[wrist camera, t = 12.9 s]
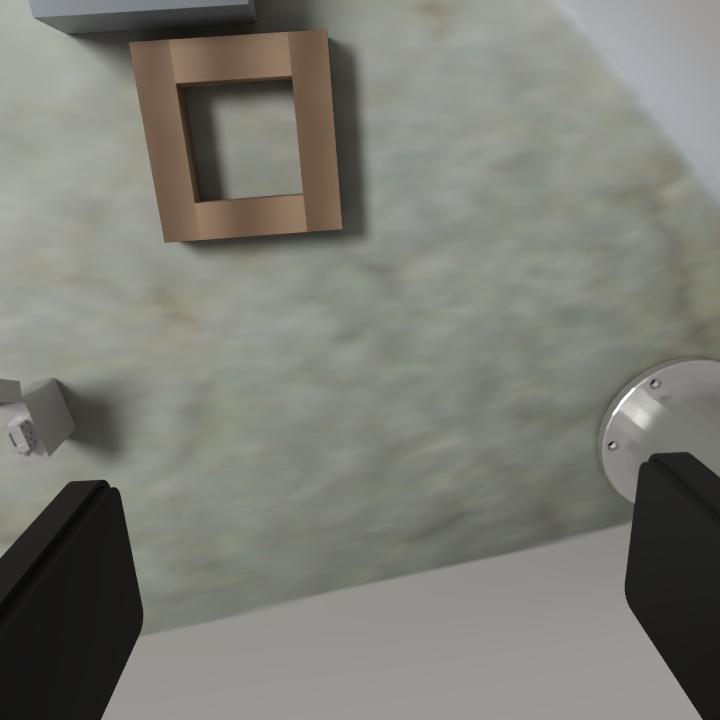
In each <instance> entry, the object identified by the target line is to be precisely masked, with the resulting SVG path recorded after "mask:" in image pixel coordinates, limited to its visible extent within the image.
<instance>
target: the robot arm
mask: <svg viewBox="0 0 720 720" xmlns="http://www.w3.org/2000/svg"><path fill="white" fill-rule="evenodd" d="M597 448H598V459H599V462H600V465H601V468H602V471H603V473H604V475H605V476H606V478H607V480H608V481H609V483H610V484H611V485H612V486H613V487H614V488H615V489H616V490H617V492H618V493H620V494H621V495H622V496H623V497H624V498H626V499H627V500H628V501H630V502H632V503H634V504H635V505H634V513H633V522H632V530H631V538H630V546H629V554H628V563H627V571H626V579H625V595H626V599H627V602H628V605H629V607H630V609H631V610H632V612H633V613H634V615H635V616H636V618H637V619H638V621H639V623H640V624H641V626H642V627H643V629H644V630H645V632H646V633H647V635H648V636H649V638H650V639H651V641H652V642H653V644H654V646H655V647H656V649H657V650H658V652H659V653H660V655H661V656H662V658H663V659H664V661H665V662H666V664H667V665H668V667H669V669H670V670H671V672H672V673H673V674H674V676H675V678H676V679H677V681H678V682H679V684H680V685H681V687H682V688H683V690H684V692H685V693H686V694H687V696H688V698H689V699H690V701H691V702H692V704H693V705H694V707H695V708H696V710H697V711H698V713H699V714H700V716H701V718H702V719H703V720H720V361H719V360H716V359H713V358H706V357H685V358H678V359H674V360H670V361H667V362H663V363H661V364H659V365H657V366H654V367H652V368H650V369H648V370H646V371H645V372H643V373H642V374H640V375H639V376H637V377H636V378H634V379H633V380H632V381H631V382H630V383H629V384H628V385H627V386H625V387H624V388H623V389H622V390H621V391H620V393H619V394H618V395H617V397H616V398H615V399H614V400H613V402H612V403H611V405H610V406H609V408H608V410H607V412H606V414H605V416H604V418H603V421H602V424H601V427H600V430H599V436H598V443H597ZM142 624H143V607H142V602H141V597H140V592H139V587H138V582H137V577H136V572H135V566H134V561H133V556H132V551H131V546H130V541H129V536H128V531H127V526H126V521H125V516H124V511H123V505H122V500H121V496H120V492H119V490H118V489H117V488H116V487H112V488H110V485H109V484H108V482H107V481H105V480H89V481H72V482H70V483H68V484H67V485H66V486H65V487H64V488H63V489H62V491H61V492H60V493H59V494H58V495H57V496H56V497H55V498H54V499H53V501H52V502H51V503H50V504H49V505H48V506H47V507H46V508H45V509H44V510H43V512H42V513H41V514H40V515H39V516H38V517H37V518H36V519H35V520H34V522H33V523H32V524H31V525H30V526H29V527H28V528H27V529H26V530H25V531H24V533H23V534H22V535H21V536H20V537H19V538H18V539H17V540H16V541H15V543H14V544H13V545H12V546H11V547H10V548H9V549H8V550H7V551H6V552H5V554H4V555H3V556H2V557H1V558H0V720H101V718H102V716H103V714H104V712H105V709H106V707H107V705H108V703H109V701H110V698H111V696H112V694H113V692H114V689H115V687H116V685H117V683H118V680H119V678H120V676H121V674H122V671H123V670H124V667H125V665H126V663H127V661H128V659H129V656H130V654H131V652H132V650H133V647H134V645H135V643H136V641H137V639H138V636H139V634H140V632H141V628H142Z"/></svg>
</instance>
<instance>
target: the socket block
mask: <svg viewBox="0 0 720 720" xmlns="http://www.w3.org/2000/svg"><path fill="white" fill-rule="evenodd" d="M29 1H30V5H31V10H32V14H33V18H35V19H37V20H39V21H41V22H43V23H45V24H47V25H49V26H51V27H53V28H55V29H57V30H59V31H61V32H63V33H65V34H78V33H93V32H109V31H124V30H140V29H155V28H171V27H186V26H202V25H217V24H232V23H248V22H257V17H256V9H255V0H29Z"/></svg>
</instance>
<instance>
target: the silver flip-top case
mask: <svg viewBox="0 0 720 720" xmlns="http://www.w3.org/2000/svg"><path fill="white" fill-rule="evenodd" d="M0 414H1V416H2V418H3V420H4V423H5V425H6V427H4V428H3V429H2V430H3V433H4V435H5V437H6V439H7V441H8V443H9V445H10V447H11V449H12V452H13V453H19V454H20V457H21V459H22V461H23V462H24V463H26V464H27V463H32V462H36V461H41V460H45V459H48V458H49V457H50V456H51V455H52V454H53V452H54V451H55V450H56V449H57V448H58V447H59V446H60V445H61V444H62V443H63V442H64V441H65V440H66V439H67V438H68V436H69V435H70V434H71V433H72V432H73V431H74V430H75V428H76V426H75V423H74V421H73V419H72V416H71V414H70V412H69V409H68V407H67V405H66V402H65V400H64V398H63V395H62V393H61V390H60V388H59V386H58V383H57V381H56V379H54V378H49V379H44V380H40V381H35V382H33V383H31V384H30V385H29V386H27V387H26V388H25V389H23V390H22V391H21V388H20V381H13V380H4V379H0Z"/></svg>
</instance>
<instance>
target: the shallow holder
mask: <svg viewBox="0 0 720 720" xmlns="http://www.w3.org/2000/svg"><path fill="white" fill-rule="evenodd" d="M129 47H130V53H131V58H132V64H133V69H134V75H135V80H136V86H137V92H138V97H139V103H140V108H141V114H142V119H143V125H144V130H145V136H146V141H147V147H148V153H149V158H150V164H151V169H152V175H153V180H154V186H155V191H156V197H157V203H158V208H159V214H160V219H161V225H162V230H163V236H164V241H165V243H168V242H181V241H194V240H207V239H220V238H233V237H246V236H259V235H272V234H285V233H298V232H311V231H324V230H337V229H342V218H341V205H340V193H339V180H338V167H337V154H336V141H335V128H334V115H333V102H332V89H331V76H330V64H329V51H328V38H327V29H323V30H308V31H293V32H278V33H262V34H247V35H232V36H216V37H201V38H186V39H171V40H155V41H140V42H129ZM289 80H292V83H293V93H294V103H295V113H296V123H297V134H298V144H299V154H300V164H301V175H302V185H303V194H291V195H278V196H264V197H251V198H237V199H224V200H211V201H201V195H200V189H199V182H198V176H197V169H196V163H195V156H194V150H193V144H192V137H191V131H190V124H189V118H188V111H187V105H186V99H185V92H184V88H186V87H201V86H216V85H230V84H245V83H260V82H274V81H289Z"/></svg>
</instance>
